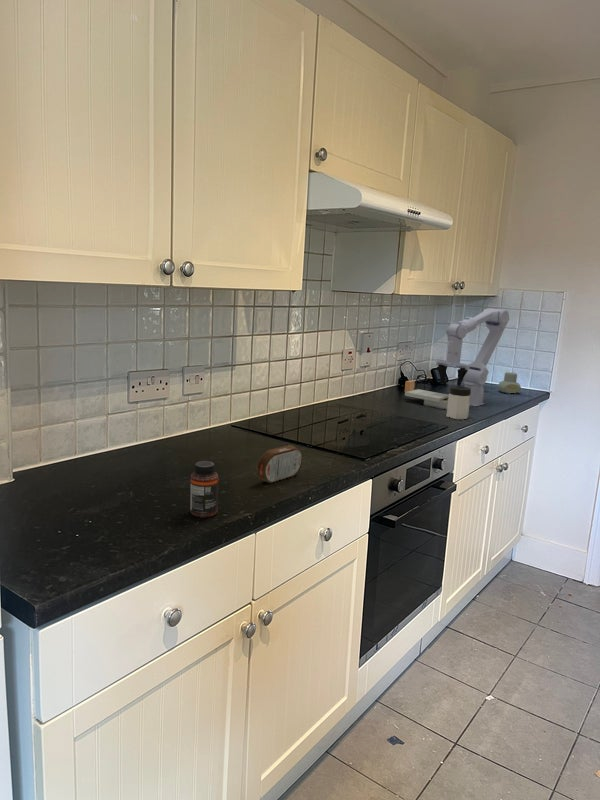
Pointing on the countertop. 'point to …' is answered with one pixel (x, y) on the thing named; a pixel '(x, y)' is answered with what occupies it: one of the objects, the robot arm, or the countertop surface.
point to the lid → (422, 393)
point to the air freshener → (509, 383)
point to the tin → (279, 463)
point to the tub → (437, 403)
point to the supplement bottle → (204, 490)
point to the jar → (458, 402)
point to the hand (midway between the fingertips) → (450, 384)
